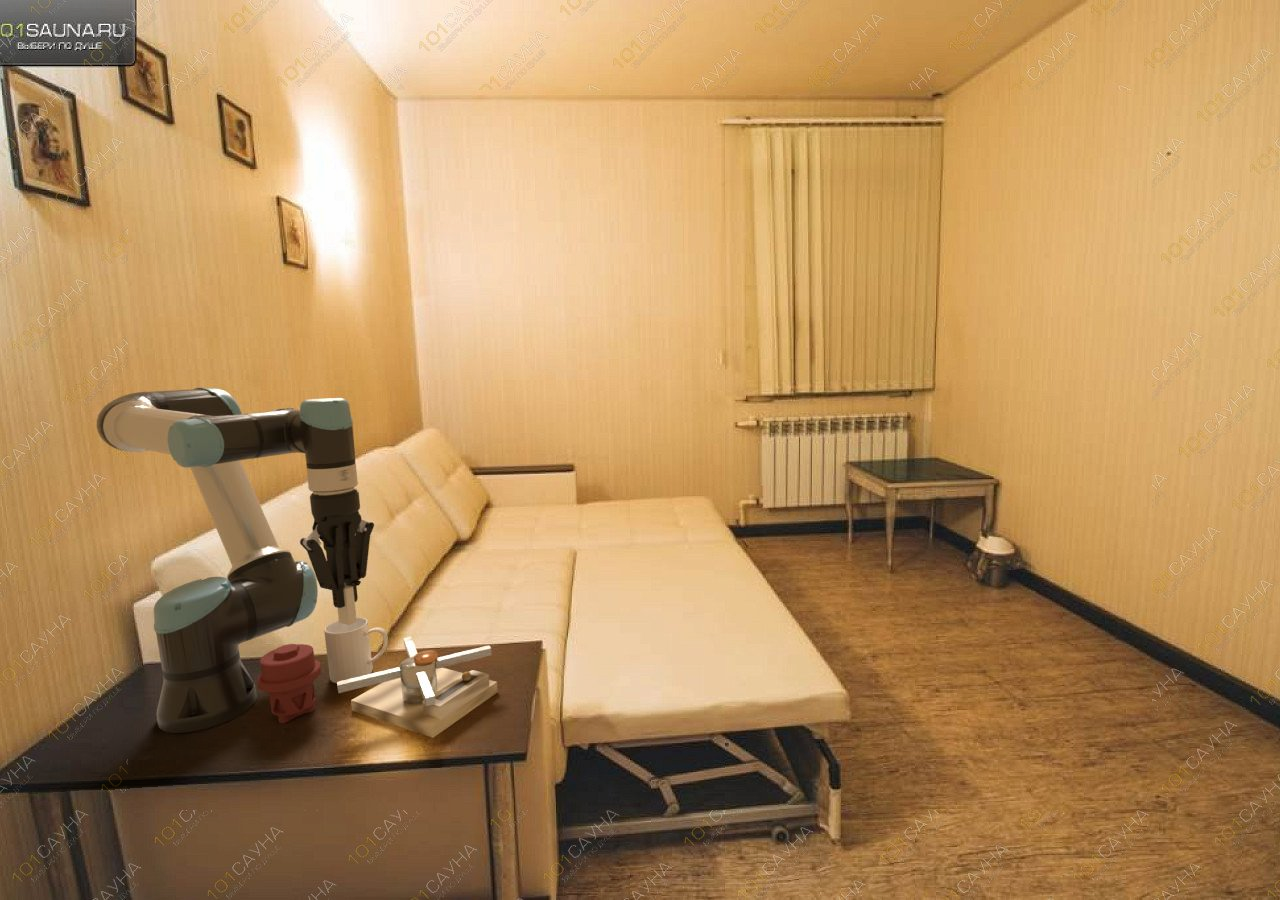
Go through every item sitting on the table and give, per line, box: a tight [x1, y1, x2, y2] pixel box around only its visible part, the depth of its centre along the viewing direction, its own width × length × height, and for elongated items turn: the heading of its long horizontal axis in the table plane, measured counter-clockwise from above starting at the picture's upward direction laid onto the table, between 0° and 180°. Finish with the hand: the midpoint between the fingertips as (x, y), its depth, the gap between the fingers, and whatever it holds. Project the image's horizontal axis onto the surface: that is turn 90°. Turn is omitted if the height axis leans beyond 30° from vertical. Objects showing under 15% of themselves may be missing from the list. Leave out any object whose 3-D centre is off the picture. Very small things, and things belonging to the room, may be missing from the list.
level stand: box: [350, 667, 498, 738], centre depth 118 cm, size 20×16×6 cm
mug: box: [323, 616, 389, 684], centre depth 129 cm, size 12×8×10 cm, turn 84°
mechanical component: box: [256, 643, 322, 724], centre depth 115 cm, size 12×10×10 cm
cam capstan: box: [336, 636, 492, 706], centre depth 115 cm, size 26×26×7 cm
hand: (347, 622), depth 113 cm, fingers closed
